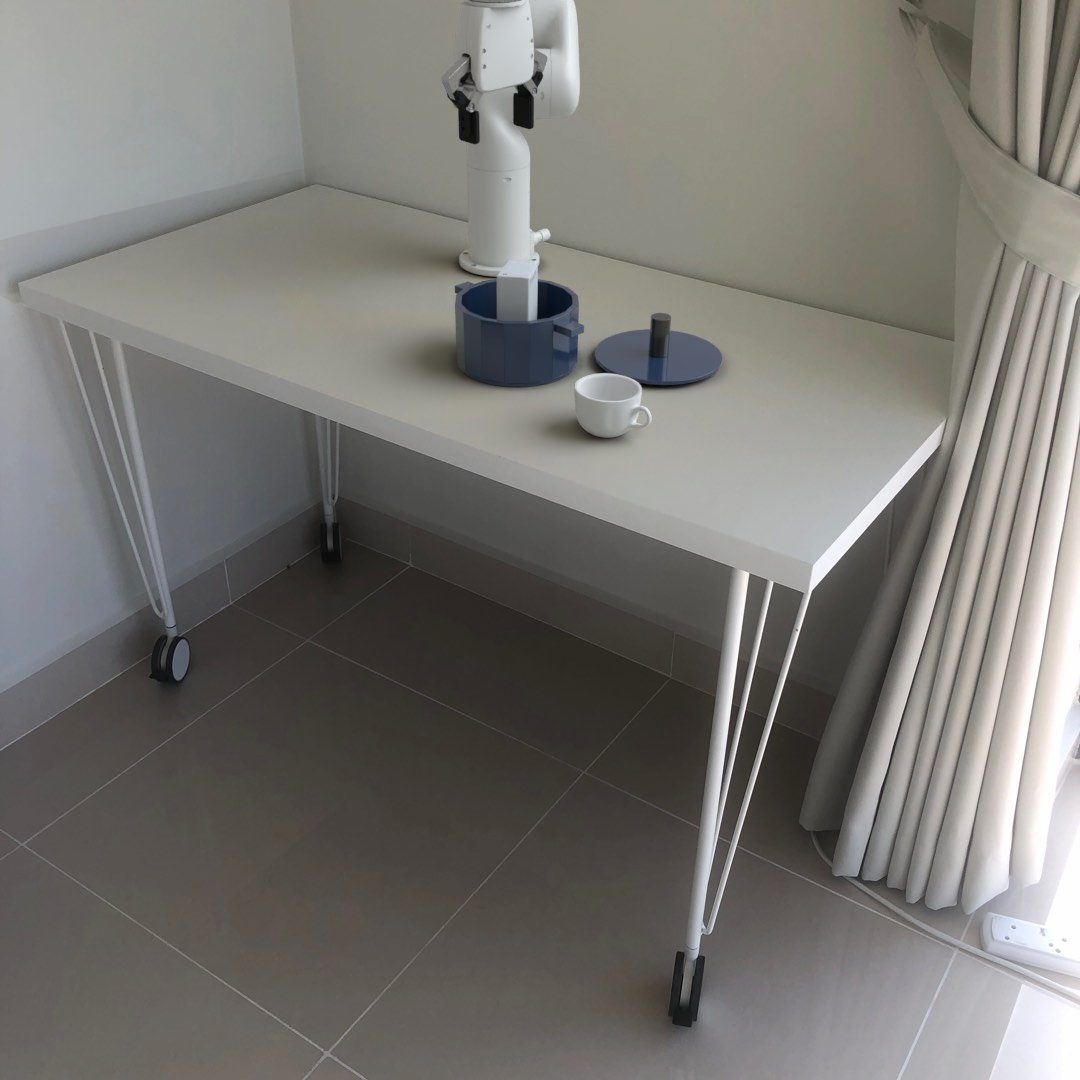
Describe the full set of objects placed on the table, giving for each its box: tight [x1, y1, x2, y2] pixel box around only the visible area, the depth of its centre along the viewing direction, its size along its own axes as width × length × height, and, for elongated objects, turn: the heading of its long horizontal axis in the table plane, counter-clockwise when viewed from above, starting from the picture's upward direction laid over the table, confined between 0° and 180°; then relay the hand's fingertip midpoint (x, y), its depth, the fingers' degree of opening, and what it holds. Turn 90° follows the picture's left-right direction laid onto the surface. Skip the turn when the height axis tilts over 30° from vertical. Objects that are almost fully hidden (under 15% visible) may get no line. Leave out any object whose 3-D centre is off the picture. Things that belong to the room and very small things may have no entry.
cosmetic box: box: [496, 261, 539, 321], centre depth 149 cm, size 6×4×12 cm
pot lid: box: [594, 312, 723, 386], centre depth 151 cm, size 17×17×6 cm
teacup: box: [573, 372, 653, 439], centre depth 135 cm, size 10×8×5 cm
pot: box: [454, 278, 585, 388], centre depth 150 cm, size 16×21×8 cm
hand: (496, 134), depth 150 cm, fingers open, 9 cm apart
